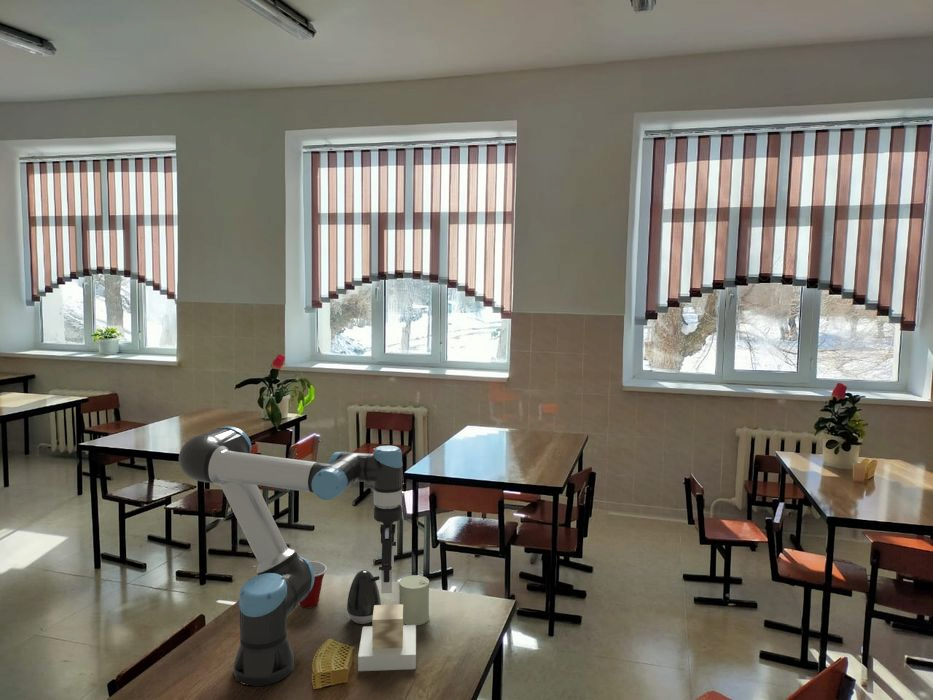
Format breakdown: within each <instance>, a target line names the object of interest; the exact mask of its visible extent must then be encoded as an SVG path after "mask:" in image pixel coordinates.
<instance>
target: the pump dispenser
mask: <svg viewBox="0 0 933 700" xmlns="http://www.w3.org/2000/svg"><path fill="white" fill-rule="evenodd" d="M380 578H381V577H380V576H379V575H377V576H374V575H373V574H372V572H371V571H369V570H365V569H364V570H363V569H362V570H359V571H358V572H357V573H356V574H355V575H354V577H353V579H352V581H351V584H350V587H349V591H348V595H347V601H346V611H347V613H348V617H349V618H350V619H351V620H352V622H354V623H356V624H359V625H361V624H362V625H363V624H369V623H371V622H372V619H373V611H374V605H382V602H381V601H382V600H381V595H380V590H379V587H378V584H377V583H378V582H377V581H379V580H381V579H380Z"/></svg>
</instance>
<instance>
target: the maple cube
mask: <svg viewBox="0 0 933 700" xmlns="http://www.w3.org/2000/svg"><path fill="white" fill-rule="evenodd" d="M403 625H404V624H403V604H400V603H399V604H381V605H374V611H373V619H372V625H371V626H372V649H379V648H403Z"/></svg>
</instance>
